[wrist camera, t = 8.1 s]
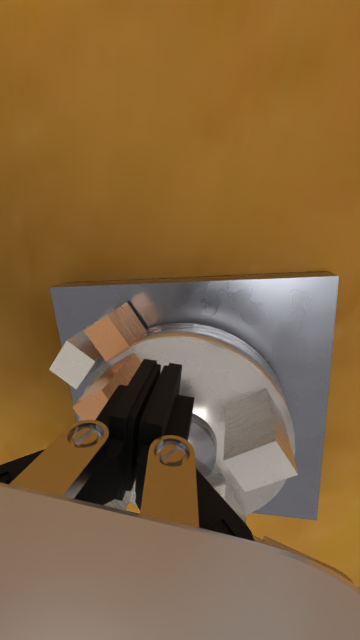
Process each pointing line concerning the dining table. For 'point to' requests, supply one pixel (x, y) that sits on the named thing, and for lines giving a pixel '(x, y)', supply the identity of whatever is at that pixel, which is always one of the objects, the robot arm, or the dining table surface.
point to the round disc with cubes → (205, 402)
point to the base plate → (239, 320)
